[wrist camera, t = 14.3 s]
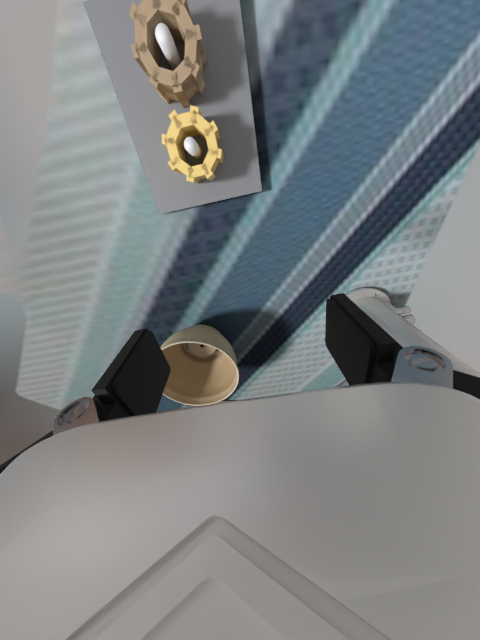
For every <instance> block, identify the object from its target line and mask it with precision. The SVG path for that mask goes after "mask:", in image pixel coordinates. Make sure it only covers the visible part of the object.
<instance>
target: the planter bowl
mask: <svg viewBox="0 0 480 640" xmlns="http://www.w3.org/2000/svg"><path fill="white" fill-rule="evenodd" d="M201 344H203V347H201V346H200V345H201ZM160 348H161V350H162V352H163V354H164V356H165V358H166V360H167V362H168V364H169V365H170V370H171V371H170V375H169V377H168V380H167V383H166V386H165V388H164V391H163V395H165V396H166V397H168V398H170V399H172V400H174V401H176V402H179V403H183V404H187V405H195V406H200V405H209V404H214V403H217V402H220V401H222V400H224V399H226V398H227V397H228V396H230V395H231V394H232V393H233V391H234V390H235V389H236V387H237V384H238V381H239V371H238V367H237V361H236V356H235V353H234V351H233V349H232V347H231V345H230V343H229V342H228V341H227V339H226V338H225V337H224V336H223V335H221V334H220V332H219V331H218V330H216V329H215V328H213V327H211V326H208V325H194V326H191V327H189V328H186V329H183V330H180V331H178V332H177V333H175V334H173V335H172V336H171V337H170V338H168V339H167V340H166V341H165V342H164V344H163V345H162V346H161V347H160Z"/></svg>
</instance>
